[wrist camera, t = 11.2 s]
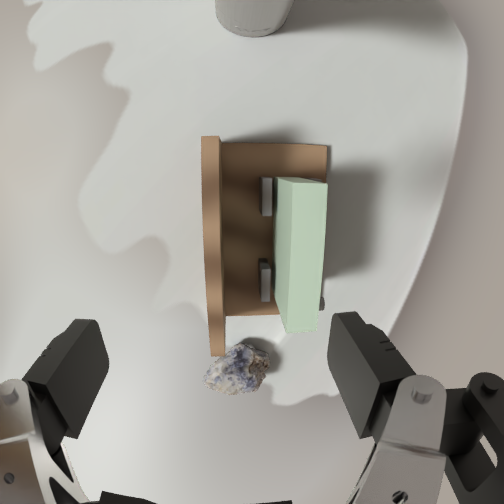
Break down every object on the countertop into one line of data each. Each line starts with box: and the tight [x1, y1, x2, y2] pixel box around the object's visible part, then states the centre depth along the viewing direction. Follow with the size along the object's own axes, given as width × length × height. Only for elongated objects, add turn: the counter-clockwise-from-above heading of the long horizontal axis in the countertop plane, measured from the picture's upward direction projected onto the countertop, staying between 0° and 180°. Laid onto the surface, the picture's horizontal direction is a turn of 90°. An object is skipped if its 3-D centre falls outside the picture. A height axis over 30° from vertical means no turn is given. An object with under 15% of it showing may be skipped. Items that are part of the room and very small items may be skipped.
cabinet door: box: [272, 177, 328, 333], centre depth 31 cm, size 14×4×11 cm, turn 0°
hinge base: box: [201, 136, 327, 356], centre depth 32 cm, size 22×14×10 cm, turn 0°
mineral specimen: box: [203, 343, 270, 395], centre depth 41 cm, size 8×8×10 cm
